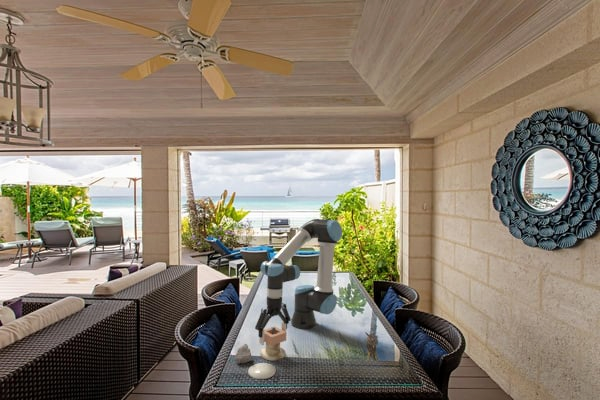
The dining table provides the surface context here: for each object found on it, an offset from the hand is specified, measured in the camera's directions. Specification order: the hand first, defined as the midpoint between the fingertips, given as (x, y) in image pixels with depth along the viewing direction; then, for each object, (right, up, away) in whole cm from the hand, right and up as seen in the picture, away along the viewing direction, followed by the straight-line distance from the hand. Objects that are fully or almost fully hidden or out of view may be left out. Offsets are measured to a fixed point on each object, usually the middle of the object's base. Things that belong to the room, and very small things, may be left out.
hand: (272, 339), depth 155 cm
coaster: (-3, -7, -15) cm, 17 cm away
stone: (-13, -7, -5) cm, 16 cm away
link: (0, 0, 0) cm, 0 cm away
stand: (0, -7, 0) cm, 7 cm away
